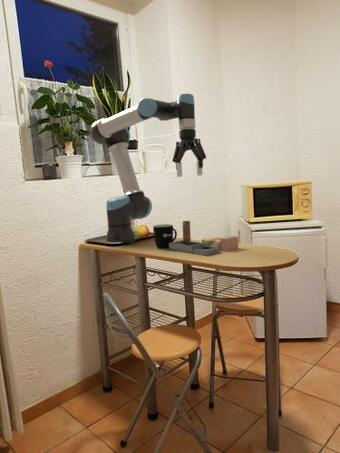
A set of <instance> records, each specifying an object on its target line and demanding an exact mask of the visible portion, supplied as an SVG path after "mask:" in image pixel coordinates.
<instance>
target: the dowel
mask: <svg viewBox="0 0 340 453" xmlns="http://www.w3.org/2000/svg"><path fill="white" fill-rule="evenodd" d="M181 222H182V240H183V245H189V246H191V241H192V240H191V222H190V220H182V221H181Z"/></svg>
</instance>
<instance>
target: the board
mask: <svg viewBox="0 0 340 453" xmlns="http://www.w3.org/2000/svg"><path fill="white" fill-rule="evenodd" d="M221 238H222V237H215V236H213V237H209V238H207V237H206V238H204V239H201V243H205V246H212V247H219V248H220V251H221V245H220V239H221Z"/></svg>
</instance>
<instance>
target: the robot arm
mask: <svg viewBox="0 0 340 453" xmlns="http://www.w3.org/2000/svg"><path fill="white" fill-rule="evenodd" d="M194 97H195V96H194V95H193V94H191V93H180V94H178V95H177V100H176V101H170V102H166V101H162V100H158V99H157V100H156V99H153V98H149V97H148V98H147V97H143V98H141V99H140V100H139V102H138V103H137V105H135V106H134V105H133V106H132V107H130V108H128V109H127V108H126V109H125V110H123V111H121V112H119V113H117V114H114V115H112V116H111V117H108V118H101V119H98V120H97V121H95V122H93V123H92V125H91V126H90V128H89V130H90V131H89V134H90V136H91V139H92V140H93V142H95V143H96V144H99V145H103V146H106V149H107V151H108V152H110V153H111V154H112V157H113V161H114V164H115V167H116V170H117V174H118V178H119V181H120V184H121V187H122V190H123V195H121V196H120V195H119V196H116V197H115V196H114V197H113V196H112V197H111V198H108V199H107V200H106V207H105V209H106V216H107V227H108V228H107V232H106V235H105V236H106V237H105V242H106V241H107V242H126V243H131V244H134V243H136V242H135V239H136V236H135V234H134V233H135V232H134V230H133V228H132V222H131V221H135V220H142V219H145V218H147V217H149V216H150V214H151V212H152V208H153V203H152V201H151V199H150V198H149V197H148V196H146V195H145V193H144V191H143V190H142V189H141V188H140V186H139V182H138V178H137V176H136V173H135V170H134V167H133V163H132V160H131V158H130V154H129V151H128V150H129V149H128V147H129V142H130V140H131V139H130V138H131V133H130V130H129V129H128V128H130V127H133V126H135V125H137V124H139V123H141V122H144V121H146V120H149V119H151V118H156V119H158V120H159V121H163V122H164V121H167V122H168V121H171V120H174V119H175V120H176V119H178V129H179V131H178V135H179V139H180V141H176V142H175V148H174V149H175V150H174V153H173V157H172V160H171V161H172V162H173V163H175V170H176V177H179V178H181V177H183V166H182V164H183V163H182V162H181V161H182V159H183V158H184V155H185V153H186V152H188V151H191V152H192V154H193V155H194V157H195V158H196V175H197V176H203V167H204V160H205V159H207V156H206V152H205V150H204V148H203V145H202V143H201V139H200V138H196V137H197V136H196V135H197V134H196V133H197V131H196V115H195V114H196V112H195V98H194Z"/></svg>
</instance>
